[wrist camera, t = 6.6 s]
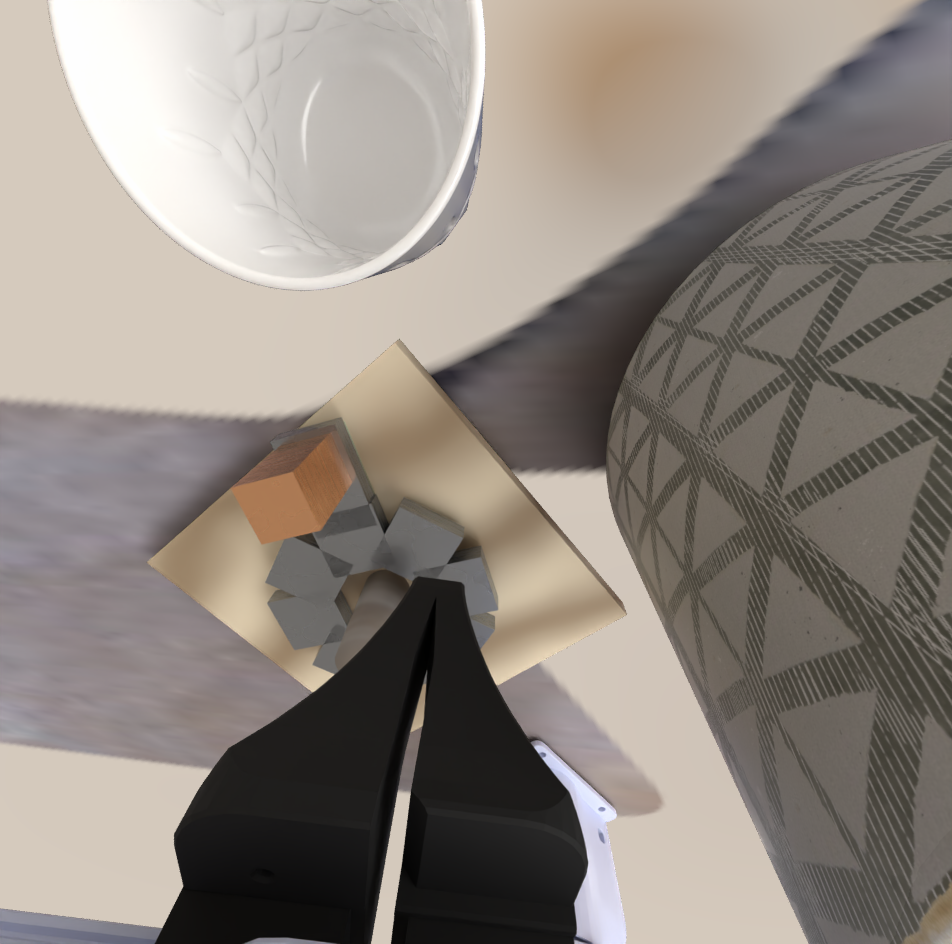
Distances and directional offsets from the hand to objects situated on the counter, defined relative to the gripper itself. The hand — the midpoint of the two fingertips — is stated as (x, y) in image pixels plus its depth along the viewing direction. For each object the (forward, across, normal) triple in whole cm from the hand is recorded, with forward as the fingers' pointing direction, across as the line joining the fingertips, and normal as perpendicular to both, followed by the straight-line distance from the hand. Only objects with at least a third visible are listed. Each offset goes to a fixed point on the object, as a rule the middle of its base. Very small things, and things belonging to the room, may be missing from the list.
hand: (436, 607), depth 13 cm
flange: (+9, +4, +5) cm, 11 cm away
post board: (+10, +3, +7) cm, 13 cm away
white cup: (+10, +4, -12) cm, 16 cm away
